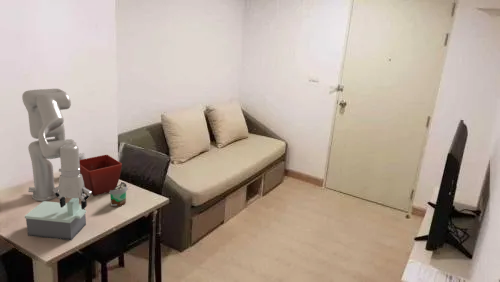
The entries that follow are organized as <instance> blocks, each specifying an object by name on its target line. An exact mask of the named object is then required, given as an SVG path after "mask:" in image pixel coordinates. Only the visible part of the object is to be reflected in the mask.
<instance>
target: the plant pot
mask: <svg viewBox="0 0 500 282" xmlns="http://www.w3.org/2000/svg"><path fill="white" fill-rule="evenodd" d="M79 162H80V174H82V177H83V181H84V186H85V188H86V189H88V190H90V191H91V192H92V193H91V195H92V196H94V197H95V196H99V195H102V194H107V193H110V190H113V189H114V188H115V187H116V186H118V185H119V181H120V177H121V174H122V166H123V163H122V162H120V161H119V160H117V159H116V158H113V157H112V156H110V155H109V154H103V155H98V156H93V157H89V158H85V159H82V160H79Z"/></svg>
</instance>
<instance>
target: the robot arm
mask: <svg viewBox="0 0 500 282" xmlns="http://www.w3.org/2000/svg"><path fill="white" fill-rule="evenodd" d="M21 96H22V97H21V98H22V103H23V105H24V107H25V109H26V111H27V114H28V115H27V116H28V124H29V133H30V137H32V138H33V139H36V140H34V141H32V142H30V143H29V144H28V147H27V149H28V153H29V157H30V161H31V167H32V168H31V169H32V174H33V175H32V177H33V185H34V186H29V187H28V193H32V194H31V198H32V200H34V201H37V202H38V201H39V202H43V201H47V202H48V201H50V200H51V201H52V200H54V199H56V198H57V199H58V200H59V203H60V206H61V208H62V207H63V206H65V205H66V203H67V202H66V198H70V199H72V198H79V200H81V201H80V205H81V209H82V210H83V209H84V208H85V207H86V208H87V206H88V203H87V199H89V198H90V197H91V195H92V194H91V193H92V192H91V191H90V190H88V189H86V188H85V186H84V181H83V177H82V174H80V162H79V154H80V150H79V146H78V144H77V142H76V141H75V140H74V139H69V138H68V139H66V131H65V130H66V129H65V126H64V121H65V119H64V117H63V113H62V112H61V111H63V110H69V109H70V108H71V106H72V101H71V98H70V96H69V94H68V93H67V92H66V91H64V90H63V89H60V88H44V89H40V88H39V89H28V90H26V91H24V92H23V93H22V95H21ZM58 158H60V159H59V160H60V168H59V169H58V172H59V173H60V174H59V179H58V186H56V187H55V178H54V168H53V167H54V166H53V164H52V161H50V160H52V159H58ZM85 193H86V194H85ZM86 208H85V209H86Z"/></svg>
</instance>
